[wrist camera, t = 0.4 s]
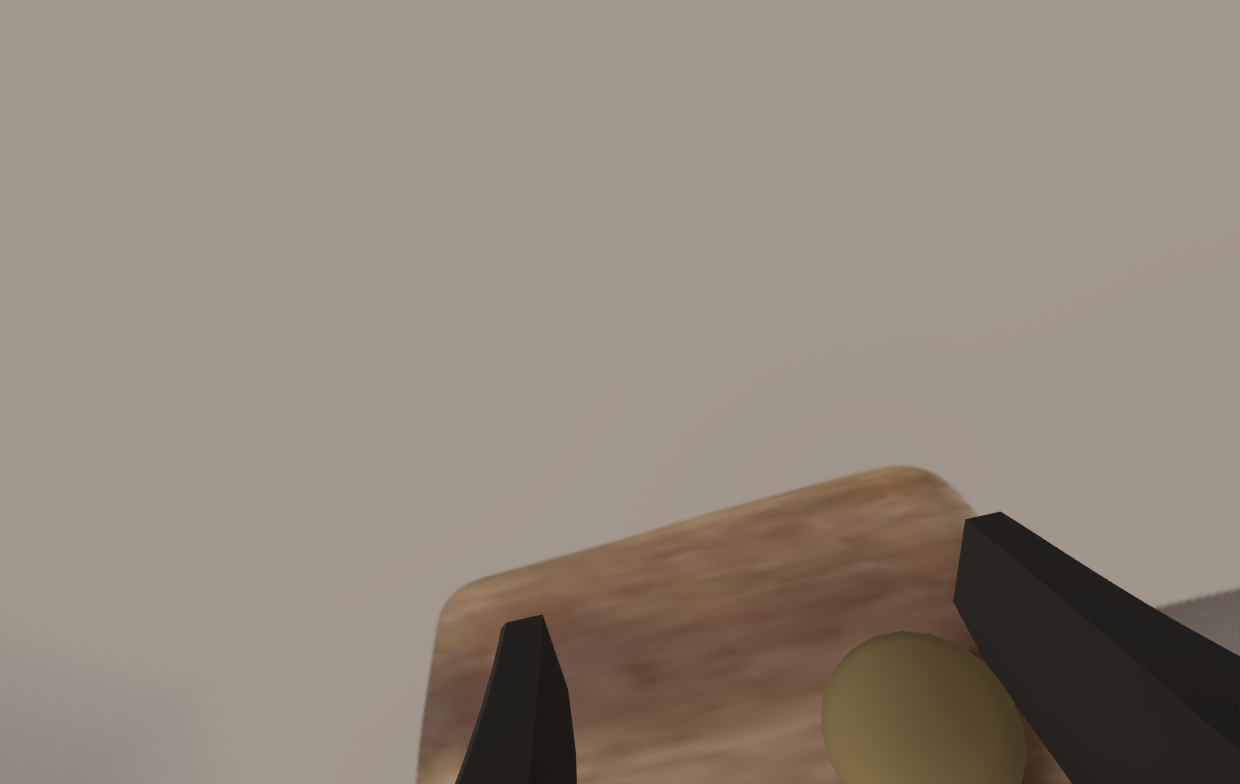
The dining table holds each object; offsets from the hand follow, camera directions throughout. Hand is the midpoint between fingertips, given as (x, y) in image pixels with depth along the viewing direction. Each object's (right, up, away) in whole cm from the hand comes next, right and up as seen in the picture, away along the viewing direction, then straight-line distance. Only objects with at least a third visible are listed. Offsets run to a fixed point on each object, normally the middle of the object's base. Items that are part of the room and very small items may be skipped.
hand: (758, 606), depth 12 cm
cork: (+9, -12, +14) cm, 21 cm away
